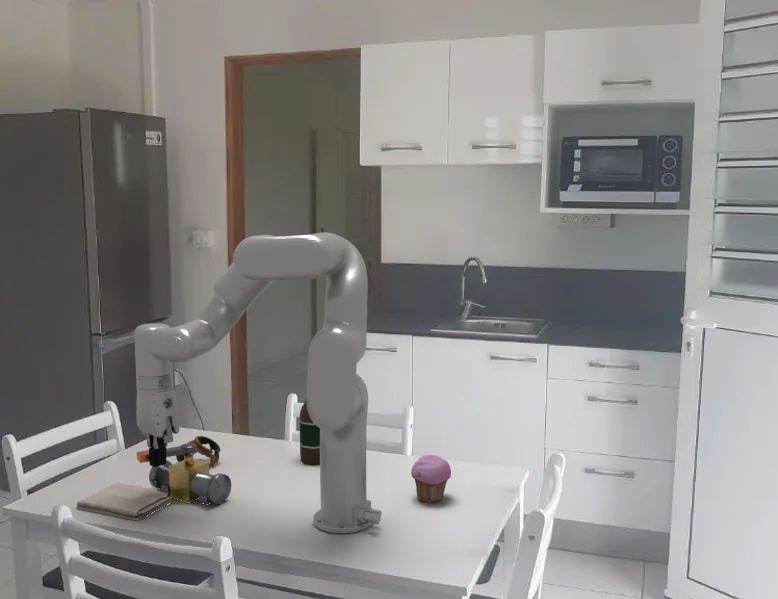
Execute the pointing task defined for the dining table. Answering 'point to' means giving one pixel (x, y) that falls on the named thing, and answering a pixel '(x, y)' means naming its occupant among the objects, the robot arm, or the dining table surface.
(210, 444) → the brown curved band
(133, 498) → the washcloth
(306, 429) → the beer bottle
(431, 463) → the cupcake
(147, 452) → the lever
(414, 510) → the dining table surface
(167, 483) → the valve body
